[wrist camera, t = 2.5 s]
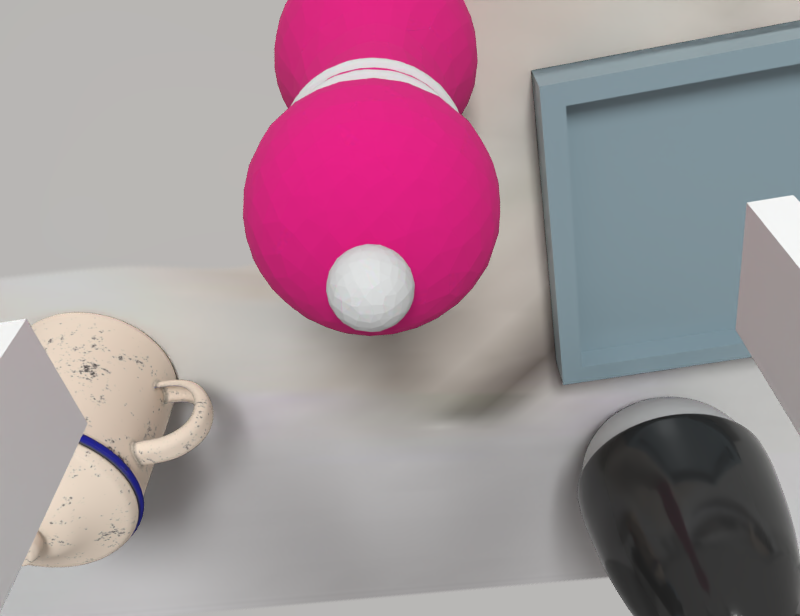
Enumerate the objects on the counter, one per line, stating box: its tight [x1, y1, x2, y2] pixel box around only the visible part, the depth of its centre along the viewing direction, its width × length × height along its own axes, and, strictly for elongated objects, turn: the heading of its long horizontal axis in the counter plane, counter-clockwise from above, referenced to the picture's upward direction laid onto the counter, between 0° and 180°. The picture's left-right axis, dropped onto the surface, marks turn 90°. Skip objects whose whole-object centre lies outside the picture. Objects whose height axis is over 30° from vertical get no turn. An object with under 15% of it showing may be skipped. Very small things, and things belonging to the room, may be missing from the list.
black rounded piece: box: [577, 397, 800, 616], centre depth 38 cm, size 10×10×15 cm
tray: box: [531, 20, 800, 385], centre depth 35 cm, size 16×16×2 cm
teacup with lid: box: [22, 312, 213, 567], centre depth 36 cm, size 12×9×12 cm
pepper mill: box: [243, 0, 500, 336], centre depth 23 cm, size 7×7×20 cm
